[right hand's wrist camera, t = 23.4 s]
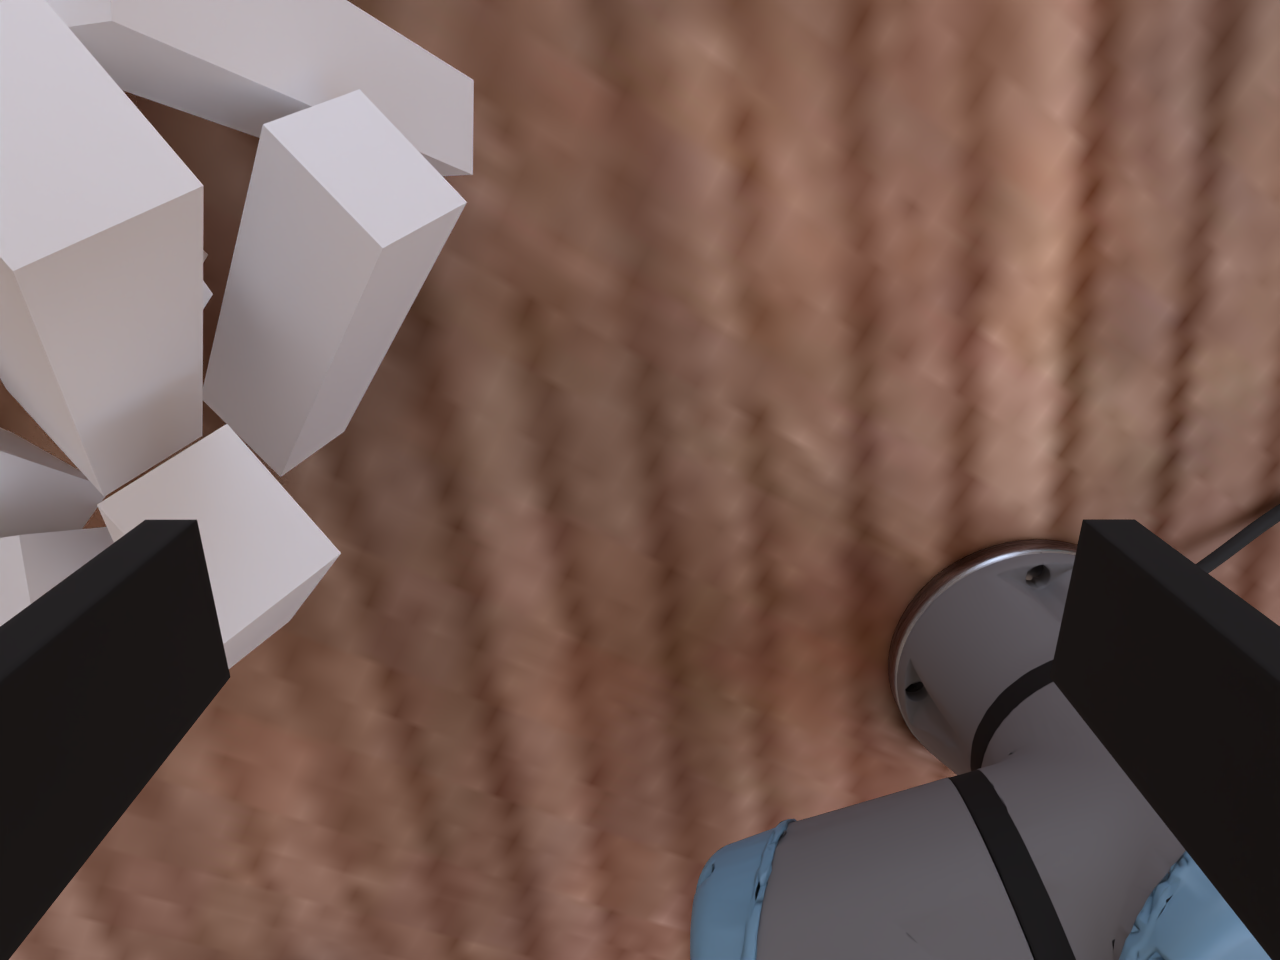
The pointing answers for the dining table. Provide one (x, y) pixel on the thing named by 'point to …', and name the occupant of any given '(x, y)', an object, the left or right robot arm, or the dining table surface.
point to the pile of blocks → (173, 274)
